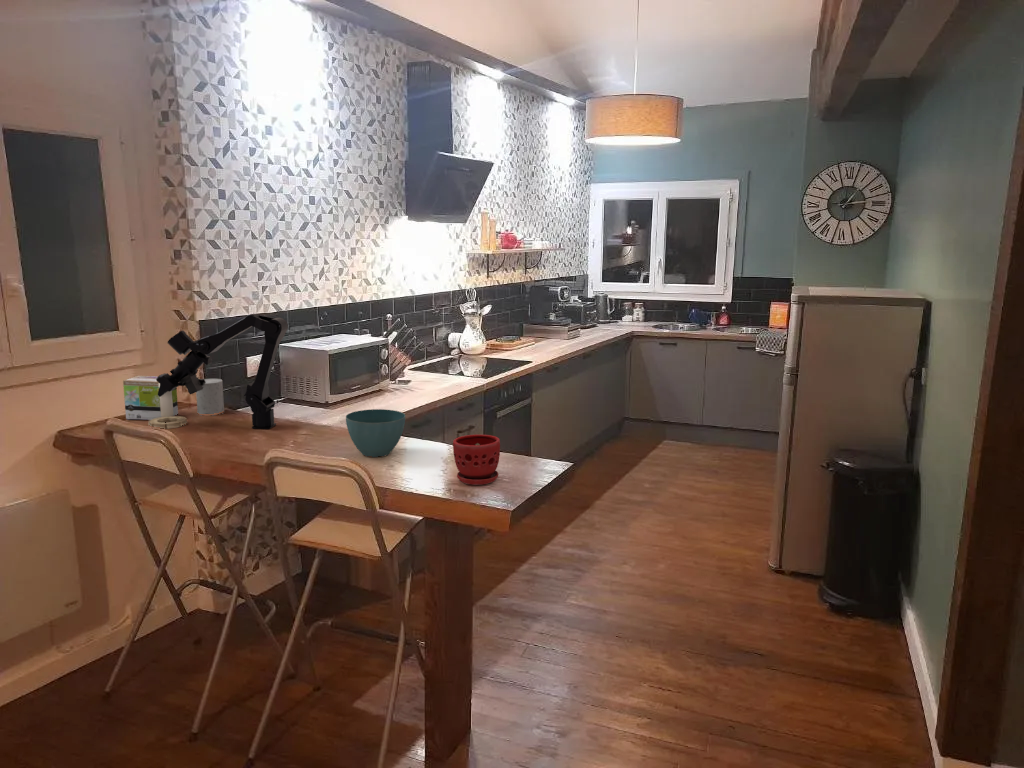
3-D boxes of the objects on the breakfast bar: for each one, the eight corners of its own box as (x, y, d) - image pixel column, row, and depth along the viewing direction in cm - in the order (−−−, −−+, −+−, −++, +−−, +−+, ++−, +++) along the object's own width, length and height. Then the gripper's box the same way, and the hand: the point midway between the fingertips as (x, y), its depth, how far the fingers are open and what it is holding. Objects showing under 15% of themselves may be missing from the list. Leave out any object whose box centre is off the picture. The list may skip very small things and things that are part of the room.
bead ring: (192, 421, 267) (192, 416, 266) (175, 429, 255) (175, 424, 255) (160, 419, 267) (160, 415, 267) (142, 428, 256) (142, 423, 255)
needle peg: (176, 415, 262) (173, 376, 259) (167, 417, 258) (164, 378, 255) (167, 413, 263) (164, 375, 261) (158, 416, 259) (155, 377, 257)
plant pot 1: (380, 442, 243) (379, 406, 241) (417, 453, 232) (417, 415, 229) (334, 453, 230) (333, 415, 227) (372, 466, 218) (371, 425, 216)
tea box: (125, 420, 267) (121, 380, 264) (140, 413, 276) (136, 375, 273) (166, 421, 266) (162, 381, 263) (179, 414, 276) (176, 375, 273)
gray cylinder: (208, 416, 273) (206, 384, 271) (191, 413, 278) (189, 381, 275) (229, 411, 281) (228, 380, 279) (213, 408, 286) (211, 377, 283)
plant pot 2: (499, 472, 214) (499, 433, 211) (500, 488, 201) (500, 445, 198) (454, 472, 213) (454, 432, 211) (452, 487, 200) (452, 445, 198)
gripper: (195, 385, 248) (166, 416, 251) (219, 375, 267) (191, 404, 269) (170, 362, 247) (141, 393, 250) (196, 353, 265) (168, 383, 268)
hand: (161, 394), depth 259 cm, fingers closed on needle peg, 4 cm apart
